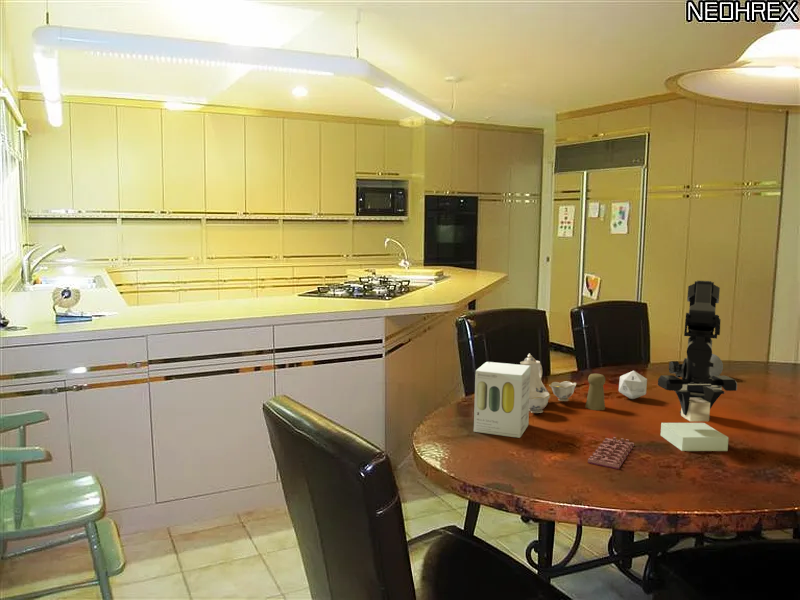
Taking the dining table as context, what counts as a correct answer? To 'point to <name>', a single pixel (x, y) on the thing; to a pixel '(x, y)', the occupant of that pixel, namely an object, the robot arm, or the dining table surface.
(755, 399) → the dining table surface
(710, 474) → the dining table surface
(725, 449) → the sage block
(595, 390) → the cork
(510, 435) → the supplement box
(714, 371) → the decorative ball
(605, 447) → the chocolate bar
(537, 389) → the chinaware
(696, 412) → the birch cube
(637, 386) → the die
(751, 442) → the dining table surface
